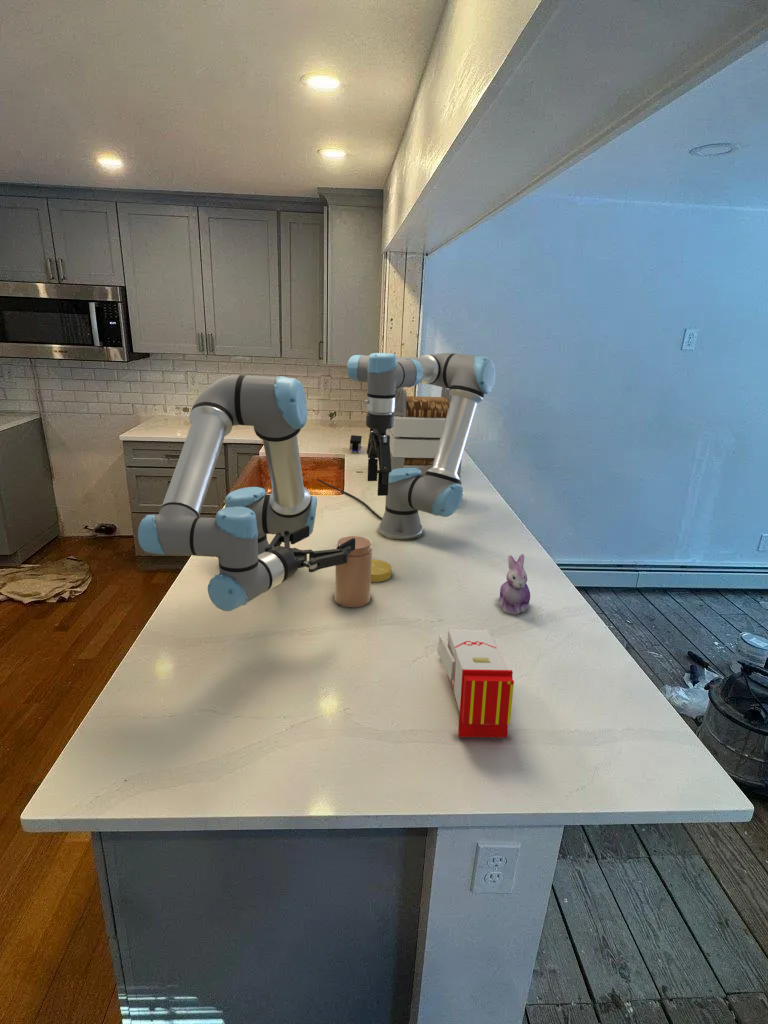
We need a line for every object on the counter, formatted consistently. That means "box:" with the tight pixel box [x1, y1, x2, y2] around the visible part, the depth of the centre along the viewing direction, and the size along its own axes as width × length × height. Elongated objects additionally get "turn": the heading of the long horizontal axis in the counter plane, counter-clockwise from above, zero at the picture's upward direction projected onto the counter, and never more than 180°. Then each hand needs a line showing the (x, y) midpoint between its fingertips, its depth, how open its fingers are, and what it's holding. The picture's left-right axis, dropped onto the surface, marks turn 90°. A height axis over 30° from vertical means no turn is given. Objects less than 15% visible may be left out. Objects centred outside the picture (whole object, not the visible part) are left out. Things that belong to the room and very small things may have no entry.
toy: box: [437, 628, 515, 738], centre depth 117 cm, size 12×13×30 cm
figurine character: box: [349, 434, 363, 454], centre depth 310 cm, size 7×8×15 cm
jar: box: [334, 535, 373, 608], centre depth 151 cm, size 10×10×17 cm
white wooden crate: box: [386, 387, 463, 479], centre depth 268 cm, size 34×33×41 cm
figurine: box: [498, 553, 531, 615], centre depth 151 cm, size 9×10×15 cm
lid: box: [371, 558, 393, 583], centre depth 169 cm, size 11×11×2 cm
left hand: (330, 537), depth 138 cm, fingers open, 13 cm apart
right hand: (377, 487), depth 160 cm, fingers open, 13 cm apart
